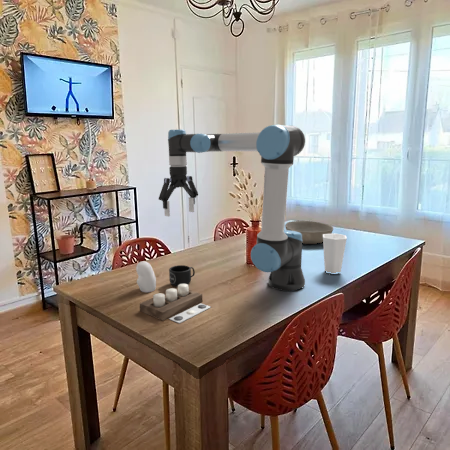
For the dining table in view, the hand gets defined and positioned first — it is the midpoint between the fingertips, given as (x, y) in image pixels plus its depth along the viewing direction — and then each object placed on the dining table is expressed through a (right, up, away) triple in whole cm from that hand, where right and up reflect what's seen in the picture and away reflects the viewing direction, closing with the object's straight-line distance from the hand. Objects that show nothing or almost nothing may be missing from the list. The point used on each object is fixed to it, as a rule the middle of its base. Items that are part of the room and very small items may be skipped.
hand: (179, 213), depth 175 cm
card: (+8, -36, -37) cm, 52 cm away
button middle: (+1, -33, -32) cm, 45 cm away
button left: (-3, -34, -36) cm, 50 cm away
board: (+1, -35, -31) cm, 47 cm away
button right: (+5, -32, -27) cm, 42 cm away
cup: (+69, -27, +4) cm, 75 cm away
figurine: (-12, -32, -15) cm, 37 cm away
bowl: (+70, -15, +57) cm, 92 cm away
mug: (+3, -30, -9) cm, 31 cm away
